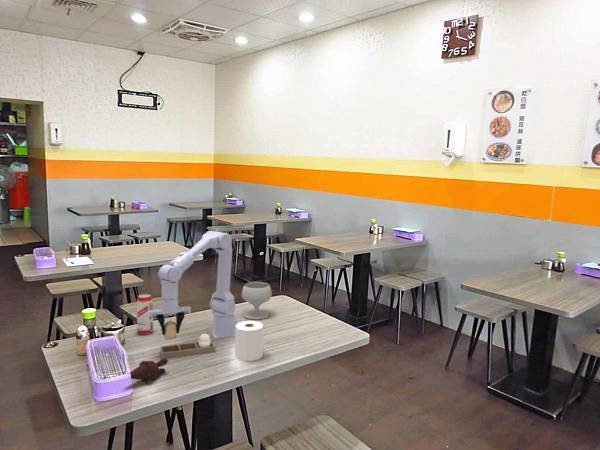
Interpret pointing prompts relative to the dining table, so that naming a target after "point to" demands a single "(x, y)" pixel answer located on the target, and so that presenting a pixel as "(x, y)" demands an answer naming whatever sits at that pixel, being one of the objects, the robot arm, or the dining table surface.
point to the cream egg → (204, 341)
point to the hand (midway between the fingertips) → (170, 333)
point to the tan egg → (170, 330)
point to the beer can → (144, 314)
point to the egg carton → (185, 350)
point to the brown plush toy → (148, 370)
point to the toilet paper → (249, 340)
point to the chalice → (256, 298)
